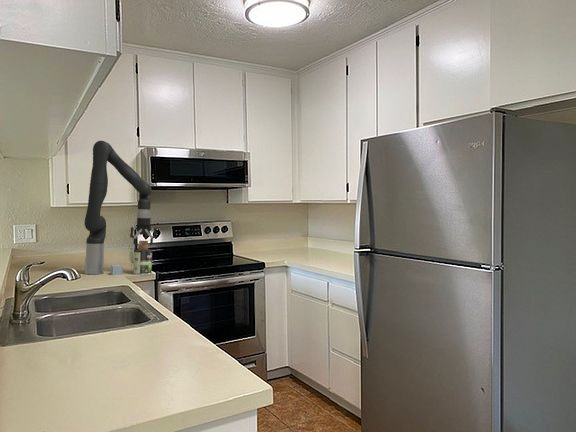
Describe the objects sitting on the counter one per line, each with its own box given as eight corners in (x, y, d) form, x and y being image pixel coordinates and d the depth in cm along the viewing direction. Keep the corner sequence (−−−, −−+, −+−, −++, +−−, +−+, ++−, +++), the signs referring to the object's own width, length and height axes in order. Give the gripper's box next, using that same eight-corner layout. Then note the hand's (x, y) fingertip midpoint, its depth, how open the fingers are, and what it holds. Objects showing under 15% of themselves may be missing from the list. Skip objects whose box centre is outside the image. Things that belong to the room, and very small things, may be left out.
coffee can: (154, 272, 254) (154, 249, 254) (148, 275, 244) (148, 250, 244) (136, 272, 254) (137, 248, 254) (130, 274, 244) (130, 250, 244)
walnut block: (138, 250, 246) (138, 241, 246) (138, 249, 251) (139, 240, 250) (147, 250, 247) (147, 241, 247) (147, 249, 252) (148, 240, 252)
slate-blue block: (112, 275, 241) (112, 266, 241) (111, 273, 246) (111, 265, 245) (122, 274, 244) (122, 265, 244) (120, 273, 248) (120, 264, 248)
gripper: (130, 217, 243) (129, 245, 243) (156, 217, 247) (156, 245, 247) (131, 216, 250) (130, 244, 250) (156, 217, 254) (155, 244, 255)
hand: (143, 245), depth 249 cm, fingers open, 8 cm apart
